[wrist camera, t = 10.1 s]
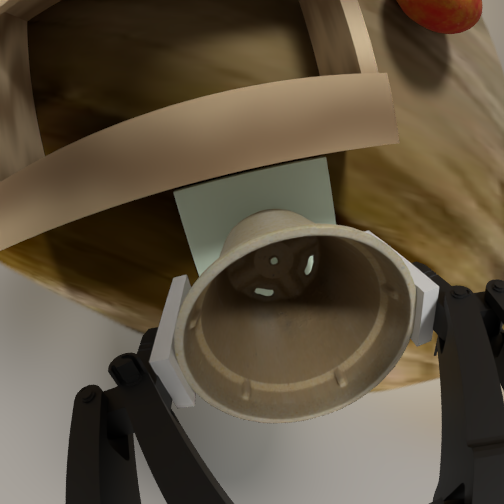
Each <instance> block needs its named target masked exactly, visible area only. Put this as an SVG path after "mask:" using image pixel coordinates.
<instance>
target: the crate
mask: <svg viewBox="0 0 504 504" xmlns="http://www.w3.org/2000/svg"><path fill="white" fill-rule="evenodd" d="M59 1H61V0H0V251H1V250H3V249H5V248H7V247H10V246H12V245H14V244H17V243H19V242H21V241H24V240H26V239H28V238H31V237H33V236H36V235H38V234H41V233H43V232H46V231H48V230H51V229H53V228H56V227H58V226H61V225H64V224H66V223H69V222H72V221H74V220H77V219H80V218H83V217H85V216H88V215H91V214H94V213H97V212H100V211H103V210H106V209H109V208H112V207H115V206H118V205H121V204H124V203H127V202H130V201H133V200H136V199H139V198H143V197H146V196H149V195H153V194H156V193H159V192H163V191H166V190H170V189H173V188H177V187H180V186H184V185H187V184H191V183H195V182H199V181H202V180H206V179H210V178H214V177H218V176H222V175H226V174H230V173H234V172H239V171H243V170H247V169H252V168H256V167H261V166H265V165H270V164H275V163H279V162H284V161H289V160H294V159H299V158H305V157H310V156H316V155H321V154H327V153H333V152H339V151H345V150H352V149H358V148H365V147H372V146H380V145H387V144H396V143H399V135H398V128H397V122H396V116H395V110H394V105H393V99H392V94H391V89H390V84H389V80H388V75H387V73H378V68H377V64H376V60H375V56H374V53H373V49H372V45H371V42H370V38H369V35H368V31H367V28H366V25H365V22H364V18H363V15H362V12H361V9H360V7H359V4H358V1H357V0H299V3H300V6H301V9H302V13H303V16H304V19H305V22H306V26H307V29H308V33H309V36H310V40H311V43H312V47H313V51H314V54H315V58H316V62H317V66H318V70H319V74H320V76H317V77H308V78H299V79H292V80H284V81H278V82H271V83H265V84H259V85H254V86H249V87H244V88H239V89H234V90H229V91H225V92H220V93H216V94H212V95H208V96H204V97H200V98H196V99H192V100H189V101H185V102H182V103H178V104H175V105H171V106H168V107H165V108H162V109H159V110H155V111H152V112H149V113H146V114H143V115H141V116H138V117H135V118H132V119H129V120H127V121H124V122H121V123H119V124H116V125H113V126H111V127H108V128H106V129H103V130H101V131H99V132H96V133H94V134H91V135H89V136H87V137H85V138H82V139H80V140H78V141H76V142H74V143H71V144H69V145H67V146H65V147H63V148H61V149H59V150H57V151H55V152H53V153H51V154H49V155H47V156H45V154H44V150H43V145H42V141H41V137H40V132H39V127H38V122H37V117H36V111H35V105H34V99H33V92H32V84H31V76H30V67H29V55H28V37H27V21H29V20H30V19H32V18H33V17H35V16H36V15H38V14H39V13H41V12H42V11H44V10H46V9H47V8H49V7H51V6H52V5H54V4H56V3H58V2H59Z"/></svg>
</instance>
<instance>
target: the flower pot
mask: <svg viewBox="0 0 504 504" xmlns="http://www.w3.org/2000/svg"><path fill="white" fill-rule="evenodd" d="M310 256H313V265H312V269H311V272H310V273H309V274H308V275H306V274H305V268H306V266H307V264H308V260H309V257H310ZM272 258H277V260H278V262H277V263H276V264H272V263H271V259H272ZM256 288H261V289H267V290H273V294H272V295H271V296H265V295H261V294H257V293H256V292H255V290H256ZM416 305H417V296H416V287H415V285H414V281H413V278H412V276H411V274H410V271H409V269H408V267H407V266H406V265H405V263H404V262H403V260H402V258H401V257H400V256H399V255H398V254H397V253H396V252H395V251H394V250H393V249H392V248H390V247H389V246H388V245H386V244H385V243H384V242H382V241H381V240H379V239H377V238H375V237H374V236H372V235H370V234H368V233H366V232H363V231H360V230H357V229H355V228H351V227H347V226H341V225H335V224H320V223H317V224H316V223H314V222H312V221H310V220H308V219H306V218H305V217H303V216H301V215H299V214H297V213H295V212H293V211H289V210H285V209H266V210H262V211H258V212H256V213H254V214H252V215H250V216H248V217H246V218H245V219H243V220H242V221H240V222H239V223H238V224H237V225H236V226H235V227H234V228H233V229H232V230H231V231H230V233H229V234H228V236H227V238H226V240H225V242H224V245H223V248H222V251H221V253H220V256H219V258H218V259H217V260H215V261H214V262H213V263H212V264H211V265H210V266H209V267H208V268H207V269H206V270H205V271H204V272H203V273H202V274H201V275H200V277H199V278H198V279H197V280H196V282H195V283H194V284H193V286H192V287H191V289H190V290H189V292H188V293H187V295H186V297H185V299H184V301H183V303H182V305H181V308H180V311H179V314H178V317H177V321H176V324H175V333H174V344H175V345H174V348H175V355H176V359H177V363H178V365H179V367H180V369H181V371H182V373H183V375H184V377H185V379H186V380H187V383H188V384H189V386H190V387H191V388H192V389H193V390H194V391H195V392H196V393H197V394H198V395H199V396H200V397H201V398H202V399H203V400H204V401H206V402H207V403H209V404H210V405H212V406H214V407H215V408H217V409H219V410H221V411H222V412H225V413H227V414H230V415H232V416H234V417H237V418H240V419H244V420H249V421H255V422H259V423H261V422H262V423H288V422H289V423H290V422H297V421H304V420H308V419H313V418H316V417H319V416H324V415H326V414H329V413H332V412H334V411H338V410H340V409H342V408H344V407H346V406H347V405H350V404H351V403H353V402H355V401H357V400H358V399H360V398H361V397H363V396H364V395H366V394H367V393H368V392H370V391H371V390H372V389H373V388H374V387H376V386H377V385H378V384H379V383H380V382H381V381H382V380H383V379H384V378H385V377H386V375H388V374H389V372H390V371H391V370H392V369H393V368H394V367H395V365H396V364H397V362H398V361H399V359H400V358H401V356H402V355H403V353H404V351H405V349H406V347H407V345H408V343H409V340H410V338H411V335H412V333H413V329H414V323H415V314H416Z"/></svg>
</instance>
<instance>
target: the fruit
mask: <svg viewBox="0 0 504 504" xmlns="http://www.w3.org/2000/svg"><path fill="white" fill-rule="evenodd" d="M397 2H398V4H399V5H400V7H401V8H402V10H403V12H404V13H405V14H406V15H407V16H408V17H409V18H411V19H412V20H413V21H415V22H416V23H418V24H419V25H421V26H423V27H425V28H427V29H429V30H431V31H434V32H438V33H443V34H455V33H461V32H464V31H466V30H468V29H470V28H471V27H473V26H474V25H475V24H476V23H477V22H478V20H479V19H480V16H481V14H482V0H397Z"/></svg>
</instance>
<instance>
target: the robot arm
mask: <svg viewBox="0 0 504 504" xmlns="http://www.w3.org/2000/svg"><path fill="white" fill-rule="evenodd" d="M365 232H366V233H368V234H370V235H372V236H374V237H375V238H377V239H379V238H378V237H377V236H375V235H374V234H373V233H371V232H370V231H365ZM379 240H381V239H379ZM381 241H382V240H381ZM382 242H383V241H382ZM384 243H385V242H384ZM385 244H386V243H385ZM386 245H387V244H386ZM389 247H390V246H389ZM390 248H391V247H390ZM393 250H394V249H393ZM394 251H395V250H394ZM395 252H396V251H395ZM396 253H397V252H396ZM397 254H398V255H399V256H400V257H401V258H402V260H403V262H404V263H405V265H406V266H407V267H408V269H409V271H410V274H411V276H412V278H413V281H414V285H415V287H416V296H417V305H416V314H415V323H414V329H413V333H412V335H411V340H412V341H413V342H414V343H415V345H416V346H420V345H422V344H424V343H427V342H429V341H431V339H432V333H433V330H434V331H435V332H436V333H437V334H438V338H437V343H436V347H435V352H434V356H436V354H437V351H438V359H439V370H440V381H441V382H440V383H441V405H442V443H441V445H442V446H441V463H440V476H439V482H438V486H437V488H436V491H435V494H434V497H433V502H432V503H429V504H504V401H503V396H502V391H501V386H502V388H503V390H504V330H503V329H502V326H503V324H504V281H502V280H491V281H489V282H488V283H487V285H486V290H485V292H478V293H473V292H472V291H471V290H470V289H468V288H467V287H464V286H457V285H456V286H451V285H450V284H448V283H447V282H446V281H445V280H443V279H442V278H441V277H440V276H439V275H436V273H435V272H433V271H431V269H430V268H428V267H427V266H426V265H424V264H421V263H419V262H413V263H410V262H409V261H408V260H406V259H405V258H404V257H403V256H401V255H400V254H399V253H397ZM190 289H191V285H190V283H189V280H188V277H187V275H183V276H178V277H174V278H173V281H172V284H171V287H170V290H169V293H168V297H167V300H166V303H165V307H164V310H163V313H162V317H161V320H160V324H159V327H156V328H151V329H148V330H147V332H146V333H145V334H144V335H143V337H142V340H141V343H140V346H139V349H138V352H137V354H135V353H125V354H122V355H120V356H118V357H116V358H115V359H114V360H113V361H112V362H111V363H110V365H109V368H108V372H109V373H110V375H111V376H112V378H113V379H114V381H115V382H116V384H117V385H118V386H117V387H115V388H112V389H109V390H107V391H104V392H103V391H102V390H101V388H100V387H99V386H97V385H88V386H86V387H84V388H82V389H81V390H80V391H79V392H78V393H77V395H76V397H75V400H74V407H73V413H72V421H71V428H70V437H69V447H68V459H67V474H66V504H141V499H140V493H139V486H138V478H137V470H136V461H135V451H134V440H133V433H135V434H136V437H137V440H138V442H139V445H140V447H141V449H142V452H143V454H144V456H145V459H146V461H147V463H148V466H149V468H150V470H151V472H152V474H153V476H154V478H155V480H156V483H157V484H158V487H159V488H160V491H161V493H162V495H163V496H164V498H165V500H166V502H167V504H234V503H233V502H232V500H231V499H230V498H229V497H228V495H227V494H226V492H225V491H224V490H223V488H222V487H221V486H220V484H219V483H218V481H217V480H216V479H215V477H214V476H213V474H212V473H211V472H210V470H209V469H208V467H207V466H206V464H205V463H204V461H203V460H202V458H201V457H200V455H199V453H198V452H197V450H196V449H195V447H194V446H193V444H192V442H191V441H190V439H189V438H188V436H187V434H186V433H185V431H184V429H183V428H182V426H181V424H180V423H179V421H178V419H177V417H176V416H175V414H174V412H173V411H172V409H171V404H172V401H173V402H174V404H175V406H176V407H177V408H185V407H193V406H195V395H196V392H195V391H194V390H193V389H192V388H191V387H190V386H189V384H188V383H187V380H186V379H185V377H184V375H183V373H182V371H181V369H180V367H179V365H178V363H177V359H176V355H175V348H174V345H175V344H174V333H175V324H176V321H177V317H178V314H179V311H180V308H181V305H182V303H183V301H184V299H185V297H186V295H187V293H188V292H189V290H190ZM500 384H501V386H500Z"/></svg>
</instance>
